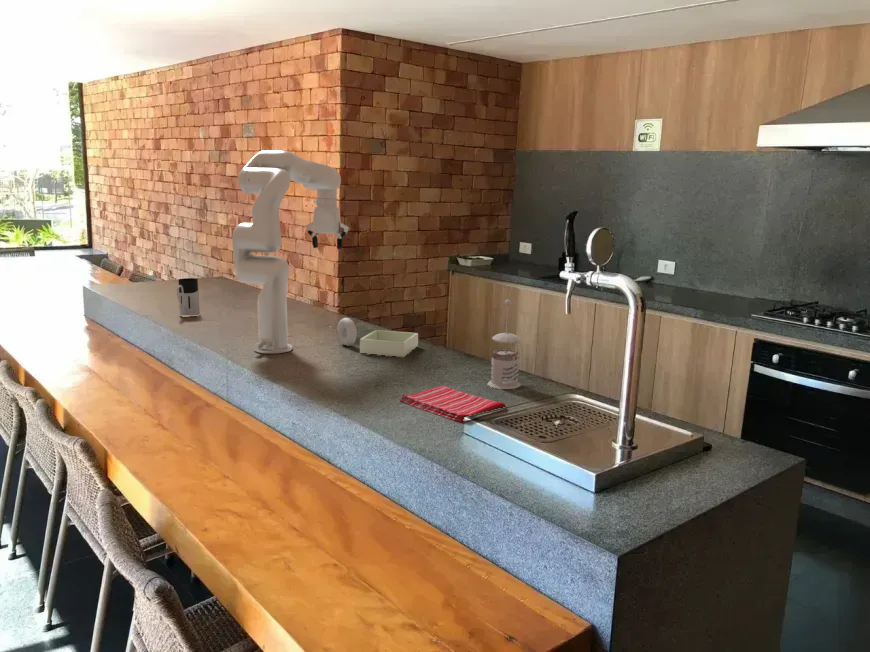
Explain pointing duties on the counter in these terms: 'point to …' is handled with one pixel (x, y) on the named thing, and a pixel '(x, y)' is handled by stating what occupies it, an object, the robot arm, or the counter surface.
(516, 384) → the french press
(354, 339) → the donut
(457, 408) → the dish towel
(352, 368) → the counter surface
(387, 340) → the bin
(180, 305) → the glass holder
